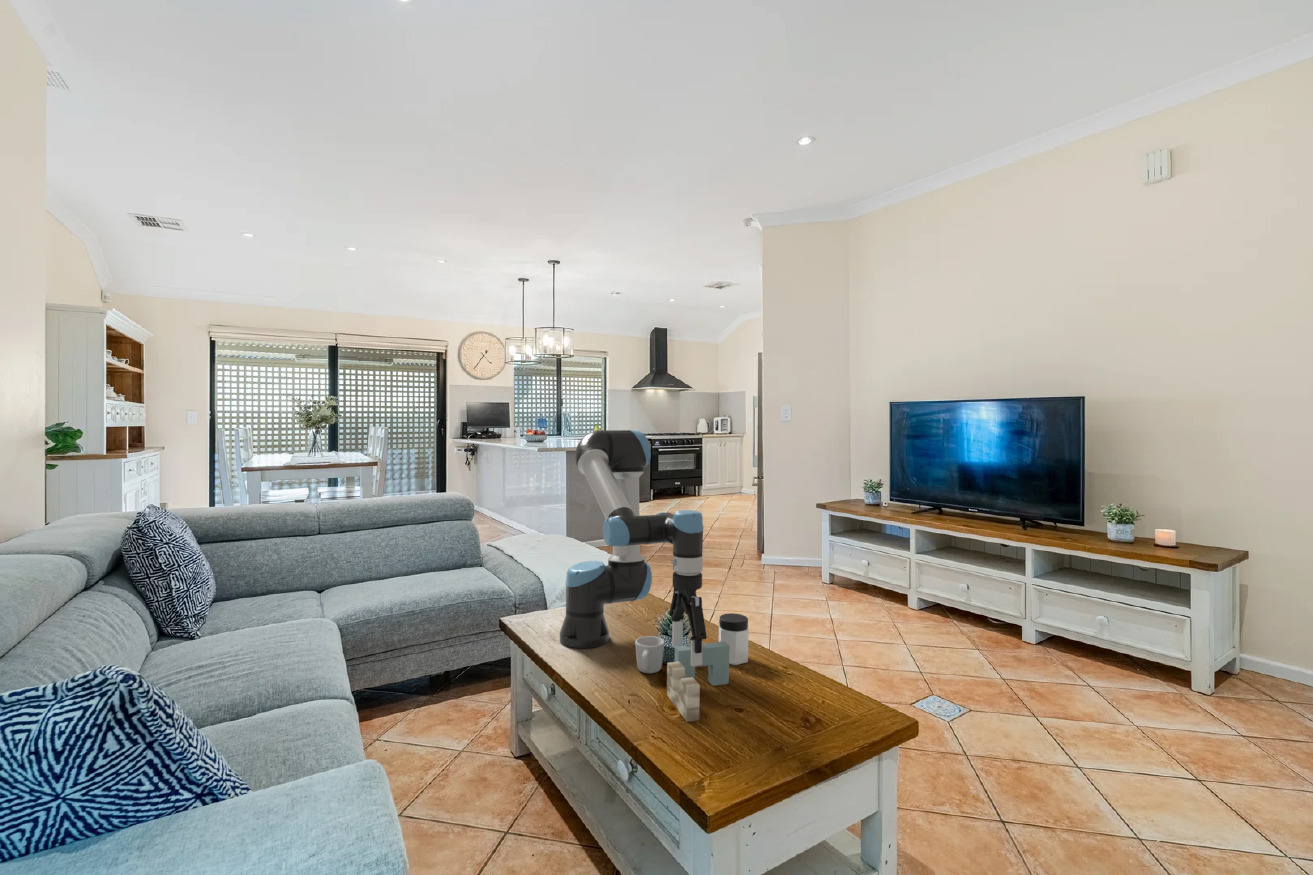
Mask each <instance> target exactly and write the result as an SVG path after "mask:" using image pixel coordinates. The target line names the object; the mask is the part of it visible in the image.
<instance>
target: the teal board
mask: <svg viewBox="0 0 1313 875" xmlns="http://www.w3.org/2000/svg"><path fill="white" fill-rule="evenodd" d="M729 647H730V646H729V645H728V644H727V643H726V642H719V641H718V642H717V641H716V642H709V643H702V665H698V666H691V644H690V645H689V644H688V645H687V644H686V645H683V646H676V647H674V661H673V662H678V661H679V662H680V663H681V665H682V666H683V667H684V668H685V678H690V677H693V678H694V679H695V677H696V674H695V673H696V668H697V667H704V666H705V667H706V666H707V667H708V670H707V672H708V675H707V681H708V683H709V685H712V687H713V686H721V685H722V686H723V685H728V684H729V682H730V678H729V677H730V664H729ZM695 680H696V679H695Z"/></svg>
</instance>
